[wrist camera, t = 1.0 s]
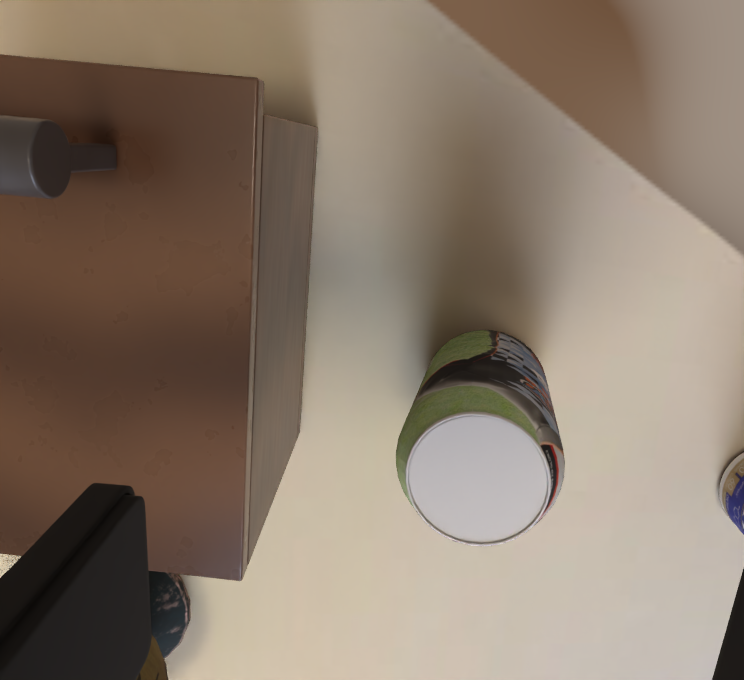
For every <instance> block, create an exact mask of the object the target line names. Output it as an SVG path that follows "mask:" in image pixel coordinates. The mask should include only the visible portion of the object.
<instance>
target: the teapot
mask: <svg viewBox="0 0 744 680" xmlns="http://www.w3.org/2000/svg"><path fill="white" fill-rule="evenodd" d="M149 589H150V609H151V628H152V639H151V646H150V650H149V653H148V656H147V659H146V661H145V663H144V665H143V667H142V669H141V671H140V673H139V675H138V677H137V679H136V680H168V676H167V670H166V663H165V661H164V658H165V657H167V656H168V655H169V654H170V653H171V652H172V651H173V650H174V649H175V648H176V647H177V646H178V645H179V644H180V643H181V641H182V639H183V636H184V634H185V631H186V629H187V626H188V624H189V621H190V599H189V597H188V594H187V592H186V589H185V586H184V584H183V581H182V580H181V578H180V577H179V576H178V575H177V574H175V573H166V572H158V571H149Z"/></svg>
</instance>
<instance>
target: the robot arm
mask: <svg viewBox="0 0 744 680" xmlns="http://www.w3.org/2000/svg"><path fill="white" fill-rule="evenodd" d="M151 639H152V628H151V609H150V589H149V570H148V551H147V531H146V512H145V501H144V499H143V497H142V496H135V492H134V490H133V488H132V487H131V486H128V485H117V484H105V483H93V484H91V485H90V486H89V487H88V488H87V489H86V490H85V491H84V492H83V493H82V494H81V495H80V496H79V497H78V498H77V499H76V500H75V501H74V502H73V503H72V504H71V506H70V507H69V508H68V509H67V510H66V511H65V512H64V513H63V514H62V515H61V516H60V517H59V518H58V519H57V520H56V521H55V522H54V523H53V524H52V525H51V526H50V528H49V529H48V530H47V531H46V532H45V533H44V534H43V535H42V536H41V537H40V538H39V539H38V540H37V541H36V542H35V543H34V544H33V545H32V546H31V547H30V549H29V550H28V551H27V552H26V553H25V554H24V555H23V556H22V557H21V558H20V559H19V560H18V561H17V562H16V563H15V564H14V565H13V566H12V567H11V568H10V569H9V570H8V571H7V572H6V573H5V574H4V575H3V576H2V577H1V578H0V680H136V679H137V677H138V675H139V673H140V671H141V669H142V667H143V665H144V663H145V661H146V659H147V656H148V653H149V650H150V646H151ZM712 680H744V569H743V573H742V576H741V580H740V583H739V587H738V590H737V594H736V597H735V601H734V604H733V608H732V612H731V615H730V619H729V622H728V626H727V629H726V633H725V636H724V640H723V643H722V647H721V650H720V654H719V658H718V661H717V665H716V668H715V672H714V675H713V679H712Z"/></svg>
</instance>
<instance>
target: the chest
mask: <svg viewBox="0 0 744 680" xmlns="http://www.w3.org/2000/svg"><path fill="white" fill-rule="evenodd" d="M317 137H318V128H317V127H315V126H311V125H307V124H302V123H298V122H294V121H290V120H286V119H282V118H278V117H274V116H270V115H266V114H263V131H262V159H261V188H260V216H259V244H258V272H257V301H256V329H255V357H254V386H253V414H252V442H251V470H250V499H249V527H248V555H247V565H248V564H249V561H250V558H251V556H252V553H253V551H254V548H255V546H256V543H257V541H258V538H259V535H260V533H261V530H262V528H263V525H264V523H265V520H266V517H267V515H268V512H269V510H270V507H271V505H272V502H273V499H274V497H275V494H276V492H277V489H278V487H279V484H280V482H281V479H282V476H283V474H284V471H285V469H286V466H287V464H288V461H289V458H290V456H291V453H292V451H293V448H294V446H295V443H296V440H297V438H298V435H299V433H300V419H301V402H302V385H303V369H304V352H305V336H306V319H307V303H308V286H309V269H310V253H311V236H312V220H313V203H314V186H315V170H316V153H317Z"/></svg>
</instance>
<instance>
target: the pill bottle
mask: <svg viewBox="0 0 744 680" xmlns="http://www.w3.org/2000/svg"><path fill="white" fill-rule="evenodd" d="M719 497H720V502H721V505H722V507H723V509H724V511H725V513H726V514H727V515H728V516H729V518H730V519H731V520H732V521H733V523H734V524H735V525H736V526H737V527H738V529H739V530H740V531H741V532H742V533H743V534H744V452H743V453H742V454H740V455H739V456H738V457H736V458H735V459H734V460H733V461H732V462H731V463H730V465H729V466H728V467H727V469H726V471H725V472H724V474H723V477H722V479H721V482H720V487H719Z"/></svg>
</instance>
